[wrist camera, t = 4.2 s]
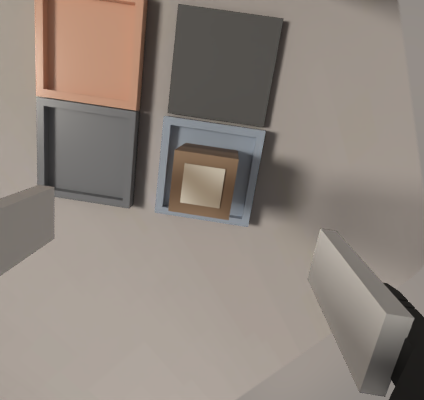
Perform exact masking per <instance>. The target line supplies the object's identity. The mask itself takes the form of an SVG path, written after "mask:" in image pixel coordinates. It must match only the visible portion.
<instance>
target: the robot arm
mask: <svg viewBox="0 0 424 400" xmlns="http://www.w3.org/2000/svg"><path fill="white" fill-rule="evenodd" d="M53 239H54V187H51V186H44V185H37V186H34V187H31V188H29V189H26V190H23V191H20V192H18V193H15V194H12V195H9V196H6V197H4V198H1V199H0V276H1V275H2V274H4V273H5V272H7V271H8V270H10V269H11V268H12V267H14V266H15V265H17V264H18V263H20V262H21V261H23V260H24V259H25V258H27V257H28V256H30V255H31V254H33V253H34V252H36V251H37V250H38V249H40V248H41V247H43V246H44V245H46V244H47V243H49V242H50V241H51V240H53ZM308 281H309V283H310V285H311V288H312V290H313V292H314V294H315V296H316V299H317V301H318V303H319V305H320V307H321V309H322V312H323V314H324V316H325V318H326V320H327V323H328V325H329V327H330V329H331V331H332V334H333V336H334V338H335V340H336V342H337V344H338V347H339V349H340V351H341V353H342V355H343V358H344V360H345V362H346V364H347V366H348V368H349V371H350V373H351V375H352V377H353V379H354V381H355V384H356V386H357V388H358V390H359V392H360V393H366V394H372V395H378V396H384V397H385V395H386V393H387V390H388V387H389V385H390V382H391V380H392V381H393V383H394V385H395V388H394V390H393V392H392V394H391V396H390V399H389V400H424V317H423V316H422V315H421V314H420V313H419V312H418V311H417V310H416V309H415V307H414V306H413V305H412V304H411V303H410V302H408V300H407V299H406V298H405V297H404V296H403V295H402V294H401V293H400V292H399V291H398V290H396V289H395V288H393V287H392V286H390V285H389V284H387V283H383V282H382V281H381V280H380V279H379V278H378V277H377V276H376V275H375V274H374V272H373V271H372V270H371V269H370V268H369V267H368V266H367V265H366V263H365V262H364V261H363V260H362V259H361V258H360V257H359V256H358V255H357V253H356V252H355V251H354V250H353V249H352V248H351V247H350V246H349V244H348V243H347V242H346V241H345V240H344V239H343V238H342V237H341V236H340V234H339V233H338V232H337V231H334V230H327V229H321V228H320V232H319V236H318V240H317V244H316V248H315V252H314V256H313V260H312V264H311V268H310V272H309V276H308Z"/></svg>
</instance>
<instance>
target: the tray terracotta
mask: <svg viewBox="0 0 424 400" xmlns="http://www.w3.org/2000/svg"><path fill="white" fill-rule="evenodd" d="M147 6H148V0H35V60H36V96H41V97H48V98H54V99H61V100H68V101H75V102H81V103H88V104H95V105H102V106H108V107H115V108H122V109H129V110H135V111H140V101H141V88H142V74H143V61H144V47H145V33H146V20H147Z"/></svg>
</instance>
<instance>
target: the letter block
mask: <svg viewBox="0 0 424 400" xmlns="http://www.w3.org/2000/svg"><path fill="white" fill-rule="evenodd" d="M238 162H239V157H238V150H231V149H224V148H218V147H211V146H204V145H198V144H191V143H185V144H183V145H182V146H180V147H178V148H177V149H175V151H174V160H173V170H172V179H171V188H170V198H169V207H168V211H172V212H179V213H185V214H191V215H198V216H204V217H211V218H217V219H223V220H229V216H230V210H231V204H232V198H233V192H234V186H235V180H236V174H237V168H238Z"/></svg>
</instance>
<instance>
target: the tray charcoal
mask: <svg viewBox="0 0 424 400" xmlns="http://www.w3.org/2000/svg"><path fill="white" fill-rule="evenodd" d="M139 115H140V112H138V111H131V110H124V109H118V108H111V107H104V106H97V105H91V104H84V103H77V102H70V101H64V100H57V99H50V98H43V97H36V122H37V185H44V186H51V187H54V197H59V198H65V199H72V200H78V201H85V202H91V203H97V204H104V205H110V206H117V207H123V208H130V207H131V206H132V205H133V197H134V183H135V169H136V156H137V142H138V129H139Z"/></svg>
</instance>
